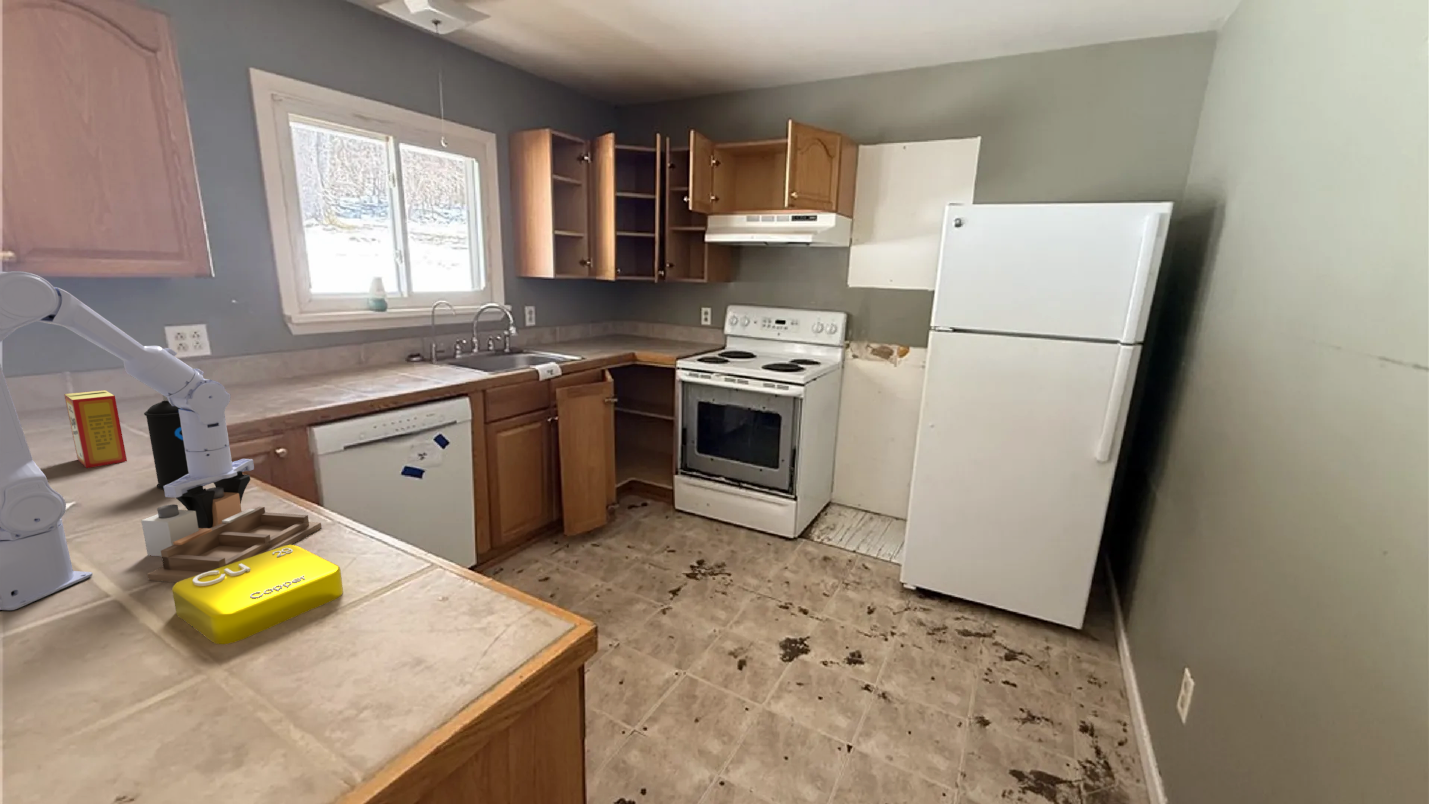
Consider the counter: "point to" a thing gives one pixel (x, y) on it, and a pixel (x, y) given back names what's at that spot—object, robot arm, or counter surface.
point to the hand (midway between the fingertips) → (219, 521)
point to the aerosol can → (167, 442)
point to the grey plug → (167, 528)
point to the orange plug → (224, 505)
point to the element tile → (256, 593)
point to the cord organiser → (231, 543)
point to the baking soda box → (95, 428)
